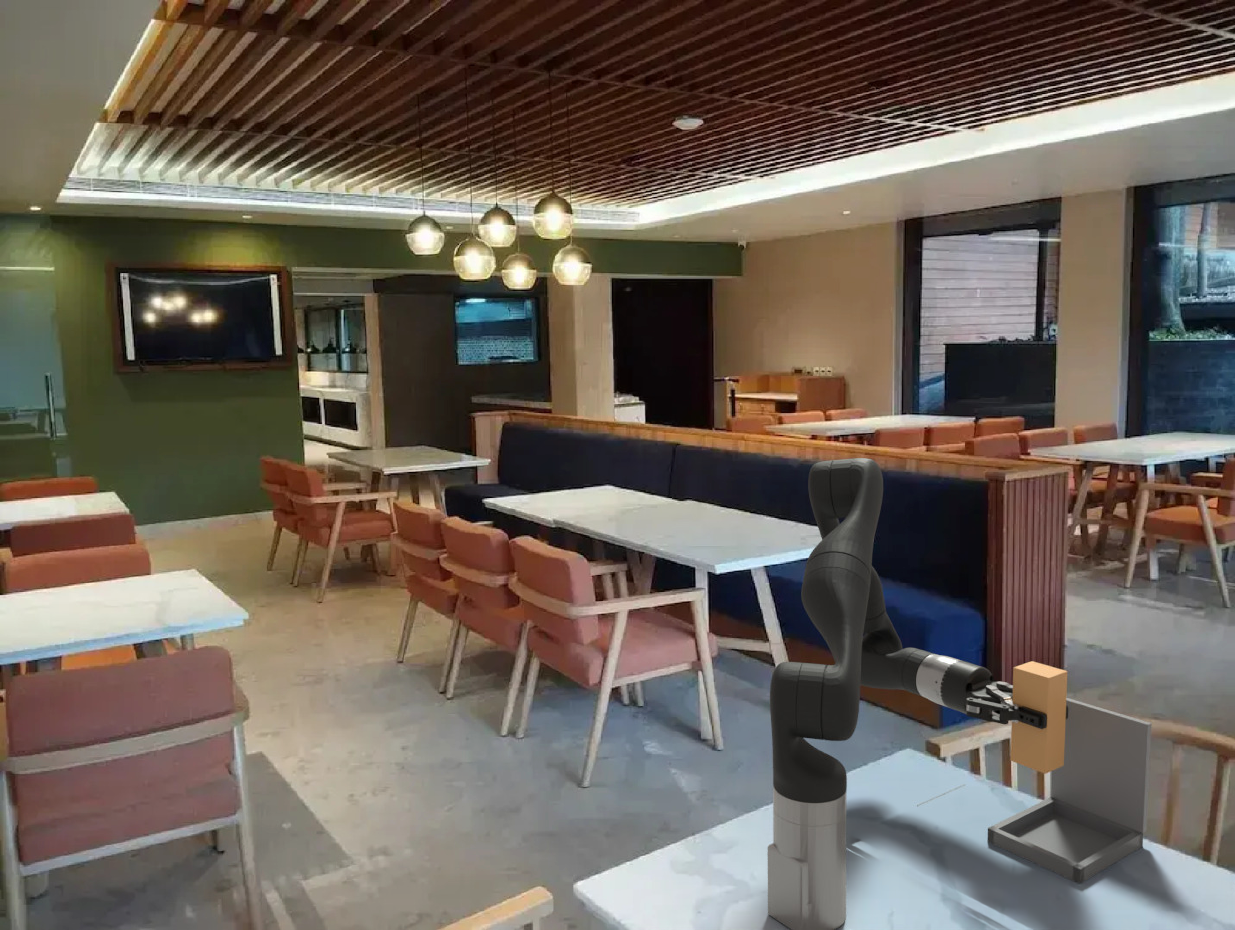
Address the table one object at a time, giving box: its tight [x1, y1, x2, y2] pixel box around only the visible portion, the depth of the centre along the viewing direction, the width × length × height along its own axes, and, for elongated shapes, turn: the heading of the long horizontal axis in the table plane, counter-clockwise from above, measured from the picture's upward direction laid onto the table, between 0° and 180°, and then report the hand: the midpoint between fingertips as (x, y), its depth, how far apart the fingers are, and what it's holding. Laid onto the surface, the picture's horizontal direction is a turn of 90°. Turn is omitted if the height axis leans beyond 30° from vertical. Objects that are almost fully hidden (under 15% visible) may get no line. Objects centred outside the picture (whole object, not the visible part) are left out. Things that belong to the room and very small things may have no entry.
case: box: [987, 697, 1153, 884], centre depth 141 cm, size 17×14×19 cm
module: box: [1010, 661, 1068, 775], centre depth 142 cm, size 4×6×14 cm
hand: (1056, 717), depth 140 cm, fingers closed on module, 4 cm apart
